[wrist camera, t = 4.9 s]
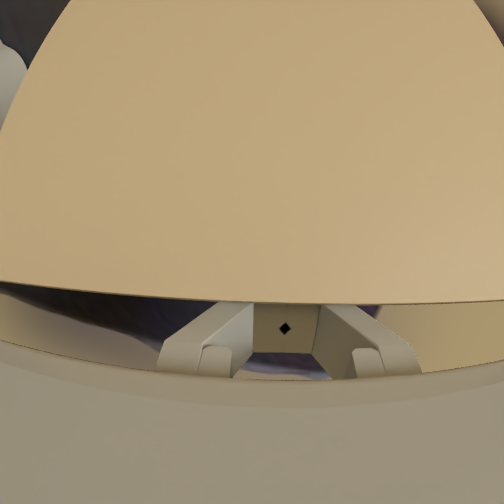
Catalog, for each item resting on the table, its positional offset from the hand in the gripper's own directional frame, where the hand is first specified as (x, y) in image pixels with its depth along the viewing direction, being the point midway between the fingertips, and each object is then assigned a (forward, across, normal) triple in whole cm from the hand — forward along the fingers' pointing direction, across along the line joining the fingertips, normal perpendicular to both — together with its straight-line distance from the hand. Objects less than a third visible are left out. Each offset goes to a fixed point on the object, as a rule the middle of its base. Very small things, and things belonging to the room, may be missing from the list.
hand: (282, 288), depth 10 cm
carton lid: (+3, 0, -7) cm, 8 cm away
